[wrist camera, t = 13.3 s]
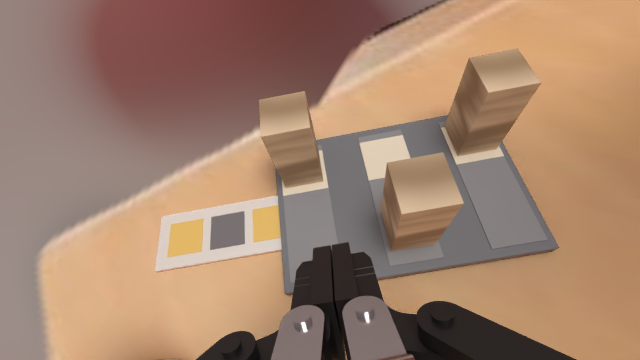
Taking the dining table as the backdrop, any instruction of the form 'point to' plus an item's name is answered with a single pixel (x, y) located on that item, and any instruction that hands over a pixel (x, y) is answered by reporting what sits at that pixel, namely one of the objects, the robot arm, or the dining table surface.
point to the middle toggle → (418, 201)
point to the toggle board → (366, 200)
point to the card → (219, 234)
